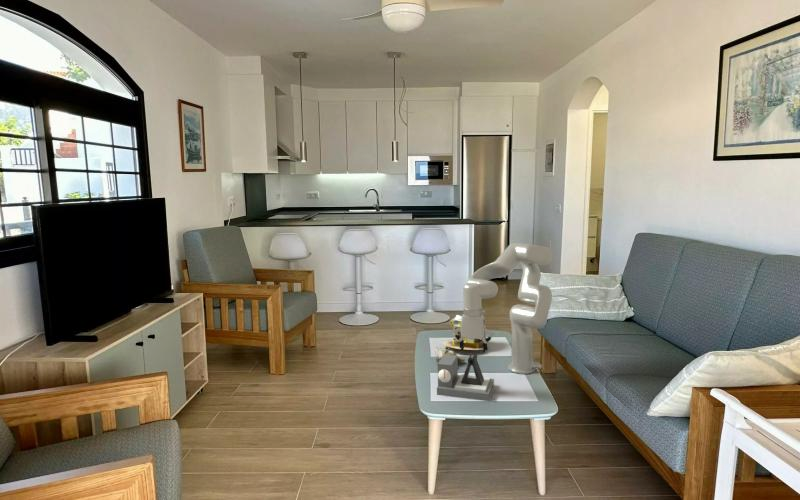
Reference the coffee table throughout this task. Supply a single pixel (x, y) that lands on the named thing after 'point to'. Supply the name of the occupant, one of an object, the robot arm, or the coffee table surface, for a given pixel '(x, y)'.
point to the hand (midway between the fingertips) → (473, 350)
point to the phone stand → (478, 373)
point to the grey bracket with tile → (452, 381)
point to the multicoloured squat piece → (468, 342)
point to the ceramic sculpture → (440, 353)
